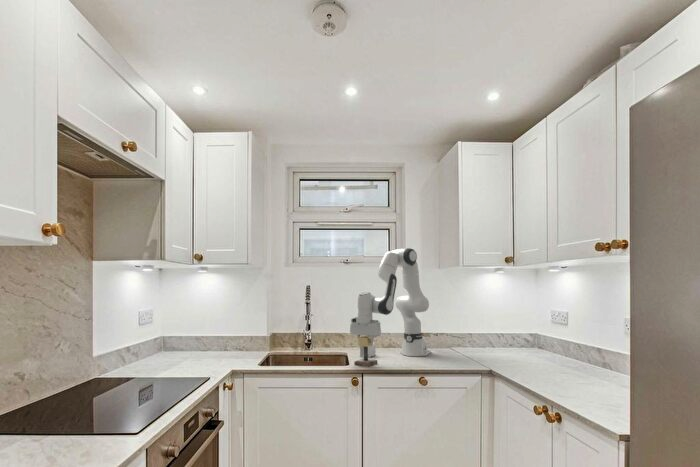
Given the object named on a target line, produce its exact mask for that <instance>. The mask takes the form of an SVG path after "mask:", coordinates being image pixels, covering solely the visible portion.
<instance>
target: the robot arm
mask: <svg viewBox="0 0 700 467" xmlns="http://www.w3.org/2000/svg"><path fill="white" fill-rule="evenodd" d="M417 257H418V255H417V251H415V249H413V248H411V247H410V248H409V247H407V248H405V247H404V248H397V249H391V250H388V251H387V252H385V254H384V256H383V257H382V259H381V261H380V264H379V267H378V270H377V274H378V277H379V278H380V279H381V280H382V281H383V282H385V283H386V287H385V293H384V295H383V297H378V296H375V295H373V294H372V292H368V291H367V292H361V293H359V294H358V296H357V309H358V312H357V316H356V317H352V318H351V319H350V322H351V323H350V325H349V326H350V327H349V329H350V330H349V333H350V334H351V335H356V338H357V339H358V337H361V336H371V340H369V343H373V344H374V339H375V337H380V336H381V335H382V329H381V321H379V320H377V319H373V313H374V314H381V315H385V316H387V315H390V314H391V313H392V311H393V310H394V306H395V308H397V310H398V311H399V312H400V314H401V316H402V318H403V319H402V320H403V324H404V325H403V328H404V332H403V340H402V342H401V343H402V344H401V345H402V347H401V348H402V349H401V351H400V354H402V355H403V356H406V357H407V356H408V357H425V356H428V355H429V354H430V353H431V352H432V350H430V349H429V350H428V343H427V342H426V340H424V338H423V336H424V332H422V322H421V320H420V319H419V317H417V315H416V313H424V312H427V311H428V309H429V307H430V302H429V299H428V298H427V297H426V296H425V295H424V293H423V292H422V291H423V290H422V288H421V285H420V274H419V266H418V262H417V259H418V258H417ZM398 266H401V267H402V270H401V272H402V287H403V288H404V290H406V292H407V294H408V295H407V294H404V295H400V296H397V298H396V300H394V299H395V295H396V294H395V293H396V289H397V281H398V279H397V276H396V273H397V269H398ZM394 302H395V305H394Z"/></svg>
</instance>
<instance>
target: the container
mask: <svg viewBox="0 0 700 467" xmlns="http://www.w3.org/2000/svg"><path fill="white" fill-rule="evenodd" d="M370 337H371V336H370ZM359 355H360V356H359V357H361V356H364V346H359ZM374 355H375V356H376V355H377V354H376V343H373V345H372V346H368V358H372V357H371V356H373V357H375V356H374Z"/></svg>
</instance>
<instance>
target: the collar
mask: <svg viewBox="0 0 700 467" xmlns="http://www.w3.org/2000/svg"><path fill="white" fill-rule="evenodd" d="M369 340H371V337H370V336H368V335H361V336H360V337H358V338H357V343H358V345H357V346H358V347H360V346H365V347H368V346H372V345H373V344H374V342H373V343H369Z"/></svg>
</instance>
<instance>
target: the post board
mask: <svg viewBox="0 0 700 467" xmlns="http://www.w3.org/2000/svg"><path fill="white" fill-rule="evenodd" d="M353 362H354V363H353V364H354V366H359V367H361V366H362V367H367V366H368V367H373V366H375V365H377V364H378V360H377V359H374V358H373V359H371V358H369V357H368V347H365V346H364V357H362V358H360V359H358V360H355V361H353ZM374 364H375V365H374Z"/></svg>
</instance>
